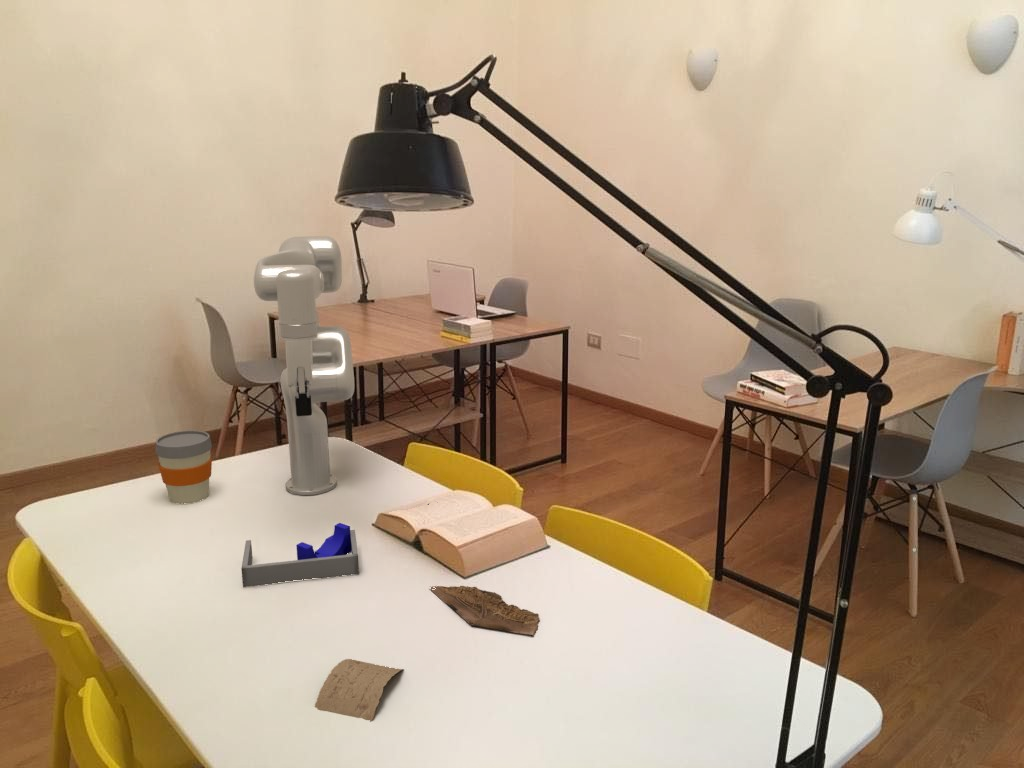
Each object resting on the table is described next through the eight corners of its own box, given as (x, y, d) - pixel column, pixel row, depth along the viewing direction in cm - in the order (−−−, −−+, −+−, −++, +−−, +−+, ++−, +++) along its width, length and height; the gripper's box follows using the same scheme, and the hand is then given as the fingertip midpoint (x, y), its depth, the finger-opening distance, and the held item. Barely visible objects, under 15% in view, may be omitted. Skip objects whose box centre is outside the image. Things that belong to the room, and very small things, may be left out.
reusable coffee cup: (205, 507, 187) (198, 447, 183) (152, 507, 187) (144, 447, 183) (224, 486, 199) (218, 430, 195) (174, 486, 199) (168, 429, 195)
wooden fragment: (555, 624, 141) (555, 619, 141) (514, 651, 133) (514, 646, 133) (454, 576, 158) (454, 571, 157) (412, 597, 150) (412, 592, 149)
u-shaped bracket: (247, 558, 163) (245, 540, 162) (355, 546, 168) (354, 529, 167) (243, 587, 152) (241, 568, 151) (359, 574, 157) (358, 555, 156)
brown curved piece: (372, 727, 115) (371, 711, 115) (308, 716, 118) (307, 700, 117) (407, 668, 129) (407, 654, 128) (350, 659, 131) (349, 645, 131)
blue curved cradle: (335, 546, 169) (334, 521, 167) (351, 552, 166) (350, 526, 165) (293, 570, 159) (291, 543, 157) (308, 576, 157) (307, 548, 155)
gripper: (280, 324, 170) (286, 405, 174) (278, 338, 156) (285, 427, 161) (316, 322, 171) (321, 403, 176) (317, 337, 157) (322, 424, 162)
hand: (304, 414), depth 168 cm, fingers closed
